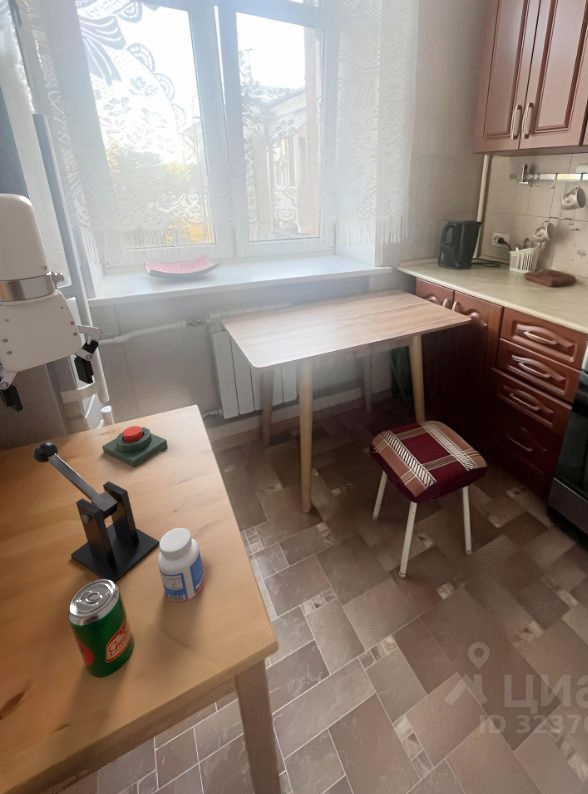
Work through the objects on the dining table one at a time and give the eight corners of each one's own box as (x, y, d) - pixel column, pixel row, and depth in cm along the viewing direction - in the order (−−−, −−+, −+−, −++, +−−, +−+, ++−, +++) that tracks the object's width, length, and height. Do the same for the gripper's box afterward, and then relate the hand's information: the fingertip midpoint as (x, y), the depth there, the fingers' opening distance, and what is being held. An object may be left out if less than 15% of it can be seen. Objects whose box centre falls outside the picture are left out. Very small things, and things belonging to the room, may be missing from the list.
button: (120, 439, 84) (118, 432, 83) (135, 430, 87) (134, 424, 86) (131, 444, 82) (129, 437, 82) (146, 435, 85) (145, 428, 85)
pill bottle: (195, 563, 62) (187, 516, 58) (211, 587, 58) (203, 539, 55) (159, 586, 58) (148, 537, 55) (173, 613, 55) (162, 563, 51)
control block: (103, 454, 85) (100, 439, 83) (137, 434, 91) (134, 420, 90) (135, 469, 81) (131, 453, 79) (168, 447, 87) (165, 432, 86)
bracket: (72, 560, 62) (53, 502, 57) (120, 523, 68) (106, 469, 64) (113, 588, 58) (96, 528, 53) (160, 546, 64) (148, 490, 60)
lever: (28, 458, 62) (27, 445, 61) (50, 447, 65) (49, 434, 64) (99, 524, 58) (100, 512, 57) (120, 510, 61) (121, 497, 59)
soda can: (122, 687, 47) (100, 621, 42) (79, 685, 47) (54, 619, 42) (144, 640, 51) (127, 576, 47) (105, 639, 51) (85, 575, 47)
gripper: (74, 272, 63) (97, 367, 70) (-75, 297, 49) (-29, 413, 56) (100, 279, 60) (122, 378, 66) (-53, 308, 46) (-6, 429, 52)
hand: (53, 394), depth 61 cm, fingers open, 9 cm apart
